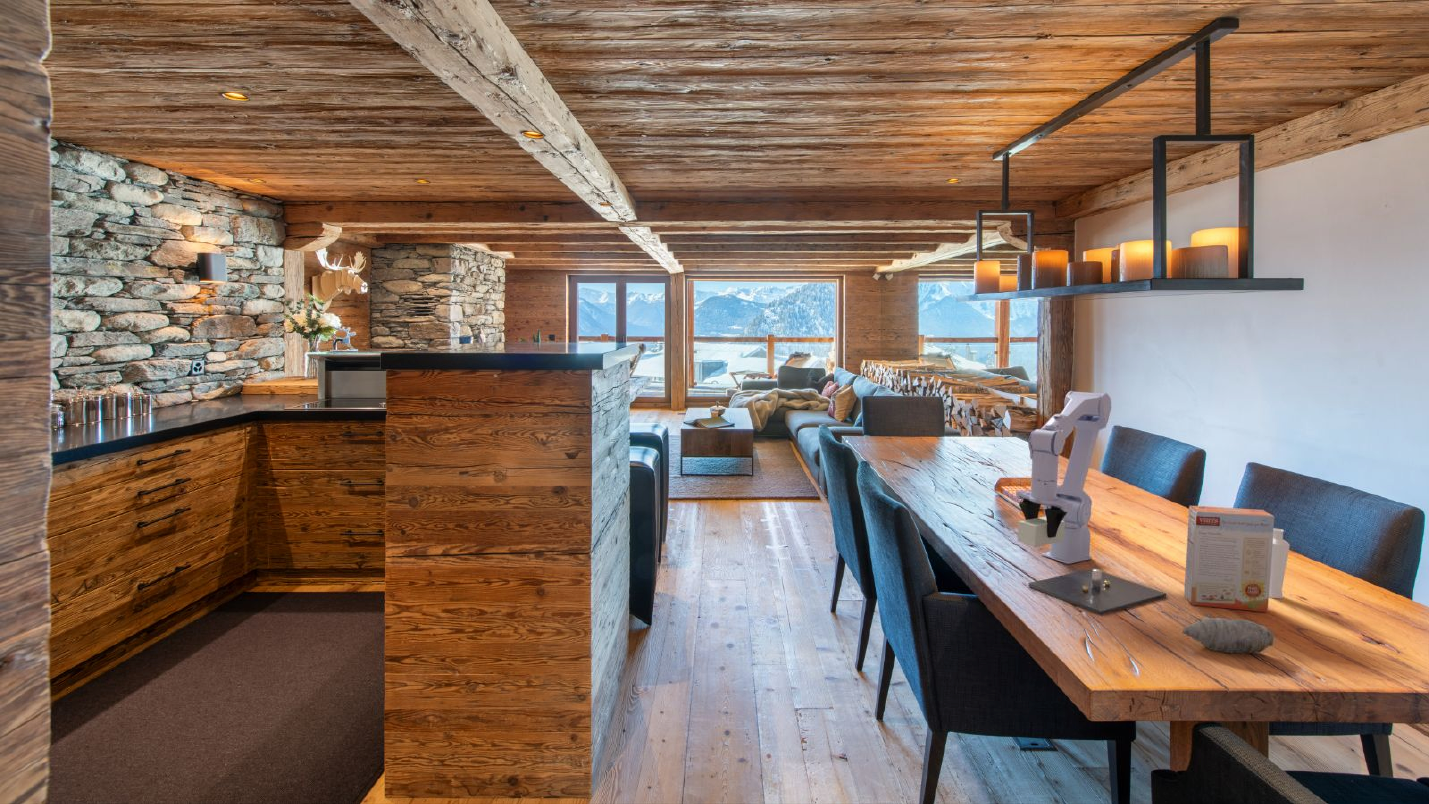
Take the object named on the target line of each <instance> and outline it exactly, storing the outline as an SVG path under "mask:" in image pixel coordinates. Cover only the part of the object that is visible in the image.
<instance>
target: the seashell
mask: <svg viewBox="0 0 1429 804" xmlns="http://www.w3.org/2000/svg"><path fill="white" fill-rule="evenodd" d="M1181 633H1182V634H1184V635H1186V636H1187V637H1189V638H1191V639H1193V640H1194V641H1196V642H1198V643H1200V644H1202V645H1203V647H1205V648H1208V649H1210V650H1212V651H1214V652H1216V651H1217V652H1223V653H1233V654H1242V653H1244V654H1254V653H1255V654H1257V653H1258V654H1260V653H1262V652H1263V651H1264V650H1265V649H1267V648H1268V647H1271V646H1272V645H1273V644H1274V642H1275V636H1274V635H1275V634H1274V633H1273V632H1271V630H1270V629H1269V628H1268V627H1266V626H1264V625H1262V624H1260V625H1259V624H1258V623H1256V622H1254V621H1250V620H1247V619H1235V618H1234V619H1228V618H1225V617H1223V618H1221V617H1216V618H1211V617H1204V618H1203V619H1201V620H1198V621H1195V622H1194V623H1192V624H1190V625H1189V626H1185V627H1184V628H1183V629H1182V632H1181Z"/></svg>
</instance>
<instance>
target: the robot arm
mask: <svg viewBox="0 0 1429 804" xmlns="http://www.w3.org/2000/svg"><path fill="white" fill-rule="evenodd" d="M1063 403H1064V405H1063V407H1064V408H1063V409H1062V410H1061V412H1060V413H1054V415H1052V416H1051V417H1050V418H1049V420H1047V421H1046V423H1045V424H1044V425H1043V426H1042V427H1041V428H1036V429H1035V430H1033V431H1031V433H1030V435H1029V436H1028V443H1027V446H1028V450H1029V458H1030V459H1031V477H1030V478H1031V481H1030V483H1031V484H1030V491H1027V490H1022V489H1021V490H1016V492H1015V499H1016V500H1022V501H1020V502H1019V503H1018V506H1019V508H1020V509H1021V511H1022V513H1023V516H1024V520H1029V519H1034V518H1039V512H1040V509H1041V506H1043V514H1044V517H1046V519H1047V536H1048V537H1049V538H1052V537H1056V534H1057V530H1058V528H1059V525H1060V523H1061V521H1065V530H1064V541H1062V542H1057V543H1052V544H1049V551H1047V552H1042V553H1041V556H1043V557H1046V558H1049V559H1053V560H1055V561H1057V562H1058V561H1059V562H1061V563H1062V564H1067V565H1068V564H1070V565H1071V564H1074V563H1075V564H1076V563H1078V562H1079V563H1080V562H1083V561H1089V560H1092V559H1093V556H1090V551H1091V549H1090V548H1091V546H1090V545H1091V532H1090V529H1089V527H1088V526H1087V525H1088V524H1089V522H1090V520H1091V518H1092V517H1091V516H1092V505H1093V501H1092V498H1091V496H1090V495H1088V493H1087V492H1086V491H1085V490H1084V488H1085V484H1086V480H1087V475H1088V472H1089V468H1090V465H1091V461H1092V457H1093V453H1094V451H1095V446H1096V442H1097V439H1098V436H1099V432H1100V431H1101V430H1103V429H1106V428H1107V425H1108V423H1109V419H1110V416H1111V411H1112V398H1111V396H1110V395H1109V394H1108V393H1107V392H1104V393H1098V392H1097V393H1096V392H1086V391H1084V392H1083V391H1075V390H1074V391H1073V390H1069V392H1067V394H1066V395H1065V398H1064V402H1063ZM1074 428H1076V435H1075V437H1074V441H1073V445H1072V448H1071V452H1070V456H1069V459H1068V462H1067V467H1066V471H1065V475H1064V478H1063V481H1062V484H1060V485H1058V478H1059V477H1058V474H1059V473H1058V472H1059V455H1061V454H1062V453H1063V449H1064V446H1065V444H1066V439H1067V438H1068V437H1069V436H1070V434H1072V432H1073V430H1074Z"/></svg>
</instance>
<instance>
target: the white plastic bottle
mask: <svg viewBox="0 0 1429 804" xmlns="http://www.w3.org/2000/svg"><path fill="white" fill-rule="evenodd" d="M1284 532H1285V530H1284V529H1282V528H1275V527H1274V529H1273V545H1272V559H1271V573H1270V587H1269V598H1270V599H1284V596H1283V587H1284V586H1283V585H1284V578H1285V574H1286V568H1287V562H1288V557H1289V553H1290V552H1289V551H1290V546H1291V545H1290V544H1289V542H1287V540H1285V539H1283V538H1284Z"/></svg>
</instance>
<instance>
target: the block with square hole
mask: <svg viewBox="0 0 1429 804" xmlns="http://www.w3.org/2000/svg"><path fill="white" fill-rule="evenodd" d="M1064 530H1065V521H1061V523H1060V525H1059V528H1058V530H1057V534H1056V537H1052V538H1049V537H1048V536H1047V519H1046V517H1045V516H1040V517H1038V518H1034V519H1029V520H1026V519H1024V520H1019V521H1018V527H1017V542H1019V543H1022V544H1025V545H1028V546H1031V547H1034V548H1037V547H1041V546H1042V547H1043V546H1046V545H1047V546H1048V545H1050V544H1052V543H1057V542H1062V541H1064Z"/></svg>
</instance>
